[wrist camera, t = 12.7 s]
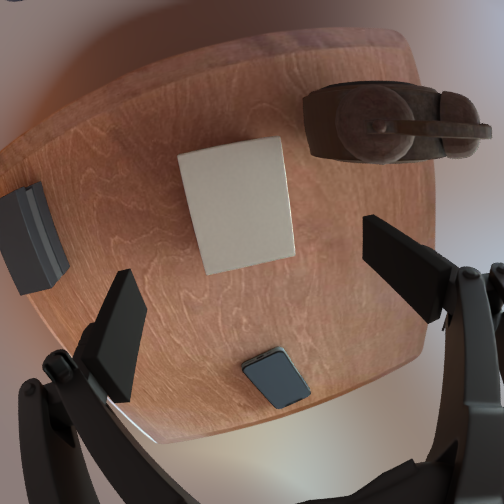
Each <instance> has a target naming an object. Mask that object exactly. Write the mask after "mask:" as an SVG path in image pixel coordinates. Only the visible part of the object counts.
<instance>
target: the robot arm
mask: <svg viewBox="0 0 504 504" xmlns="http://www.w3.org/2000/svg"><path fill="white" fill-rule="evenodd" d="M362 259H363V260H364V261H365V262H366V263H367V264H368V265H369V266H370V267H371V268H373V269H374V270H375V271H376V272H377V273H378V274H379V275H380V276H381V277H382V278H383V279H384V280H385V281H386V282H387V283H388V284H389V285H390V286H391V287H392V288H393V289H394V290H395V291H396V292H397V293H398V294H399V295H400V296H401V297H402V298H403V299H404V300H405V301H406V302H407V303H408V304H409V305H410V306H411V307H412V308H413V309H414V310H415V311H416V312H417V313H418V314H419V315H420V316H421V317H422V318H423V319H424V320H425V321H426V322H427V324H429V323H431V322H433V321H435V320H437V319H439V318H440V315H441V312H442V308H444V309H445V310H446V311H447V315H446V318H445V322H444V325H443V328H442V331H444V328H445V329H446V330H445V331H446V332H445V360H444V374H443V385H442V394H441V403H440V409H439V416H438V422H437V427H436V433H435V438H434V442H433V445H432V448H431V450H430V452H429V454H428V456H427V459H426V461H425V462H420V463H414V461H413V459H410V460H408V461H406V462H404V463H402V464H401V465H399V466H397V467H395V468H393V469H391V470H388V471H386V472H384V473H382V474H381V475H380V476H378V477H377V478H375V479H374V480H373V481H371V482H370V483H368V484H367V485H366V486H364V487H363V488H361V489H360V490H358V491H357V492H355V493H354V494H352V495H349V496H344V497H336V498H327V499H317V500H308V501H305V502H301V503H297V504H504V407H502V406H501V401H500V376H499V371H500V374H501V377H502V380H503V384H504V312H503V310H502V306H503V303H504V264H503V263H494V264H492V265H491V269H490V273H486V274H481V273H480V272H479V271H478V270H477V269H475V268H472V267H461V268H459V267H457V266H456V265H454V264H453V263H452V262H450V261H449V260H448V259H446V258H445V257H442V255H440V254H439V253H437V252H436V251H435V250H433V249H432V248H430V247H427V246H424V245H420V244H419V243H418V242H416V241H415V240H413V239H412V238H410V237H409V236H407V235H405V234H404V233H402V232H401V231H399V230H398V229H396V228H395V227H393V226H391V225H390V224H388V223H387V222H385V221H384V220H382V219H380V218H379V217H377V216H375V215H374V214H373V215H368V216H363V256H362ZM146 313H147V307H146V305H145V303H144V300H143V298H142V296H141V293H140V291H139V289H138V286H137V284H136V281H135V279H134V276H133V274H132V271H131V269H126V270H121V271H118V272H117V275H116V277H115V279H114V281H113V283H112V285H111V287H110V289H109V291H108V293H107V296H106V298H105V300H104V302H103V304H102V307H101V309H100V311H99V314H98V316H97V318H96V321H95V322H94V323H90V324H89V325H88V326H87V327H86V329H85V330H84V331H83V333H82V336H81V340H79V343H78V346H77V348H76V350H75V353H74V355H73V358H71V356H70V355H69V353H68V352H67V351H66V350H63V349H60V350H56V351H54V352H52V353H51V354H50V355H48V356H47V357H46V359H45V360H44V362H43V365H42V368H43V371H44V372H45V373H46V374H47V375H48V377H49V378H50V379H51V381H52V382H51V383H48V384H45V385H42V384H41V382H40V381H39V380H38V379H36V378H32V379H29V380H27V381H25V382H24V383H23V384H22V386H21V388H20V390H19V395H18V416H19V439H20V450H21V460H22V468H23V474H24V480H25V486H26V491H27V496H28V501H29V504H100V502H99V500H98V498H97V495H96V492H95V490H94V487H93V484H92V481H91V479H90V476H89V473H88V470H87V467H86V463H85V460H84V457H83V453H82V450H81V446H80V442H79V439H78V435H77V432H78V434H79V435H80V437H81V438H82V441H83V442H84V444H85V446H86V447H87V449H88V451H89V452H90V454H91V456H92V457H93V459H94V460H95V462H96V463H97V465H98V466H99V468H100V469H101V471H102V472H103V474H104V475H105V477H106V478H107V480H108V481H109V482H110V484H111V485H112V486H113V488H114V489H115V490H116V491H117V493H118V494H119V496H120V497H121V498H122V499H123V501H124V502H125V503H126V504H200V503H199V502H198V501H197V500H196V499H194V498H193V497H192V496H191V495H190V494H188V492H186V491H185V490H184V489H183V488H182V487H181V486H180V485H179V484H177V482H176V481H174V480H173V479H172V478H171V477H170V476H169V475H168V474H167V473H166V472H165V471H164V470H163V469H162V468H161V467H160V466H159V465H158V464H157V463H156V462H155V460H154V459H153V458H152V457H151V456H150V455H149V454H148V453H147V452H146V451H145V450H144V449H143V447H142V446H141V445H140V444H139V443H138V442H137V440H136V439H135V438H134V437H133V436H132V434H131V433H130V432H129V431H128V430H127V428H126V427H125V426H124V425H123V423H122V422H121V421H120V420H119V418H118V417H117V416H116V415H115V413H114V412H113V410H112V409H111V408H110V406H109V405H108V404H107V403H106V400H107V396H109V397H110V398H111V400H112V401H113V402H114V403H125V402H130V398H131V391H132V385H133V379H134V373H135V367H136V362H137V356H138V351H139V346H140V341H141V336H142V331H143V326H144V322H145V317H146ZM76 430H77V431H76Z"/></svg>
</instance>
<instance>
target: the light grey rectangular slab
mask: <svg viewBox="0 0 504 504" xmlns="http://www.w3.org/2000/svg"><path fill="white" fill-rule="evenodd" d="M177 159H178V163H179V168H180V172H181V177H182V181H183V186H184V190H185V194H186V198H187V203H188V207H189V211H190V215H191V219H192V223H193V227H194V231H195V235H196V239H197V243H198V247H199V250H200V254H201V258H202V262H203V265H204V269H205V273H206V275H211V274H215V273H220V272H224V271H229V270H234V269H238V268H243V267H247V266H252V265H256V264H260V263H265V262H269V261H274V260H278V259H283V258H287V257H291V256H295V246H294V237H293V228H292V220H291V211H290V203H289V196H288V188H287V180H286V173H285V166H284V159H283V152H282V145H281V139H280V136H271V137H264V138H258V139H252V140H246V141H240V142H235V143H229V144H224V145H219V146H214V147H209V148H205V149H200V150H196V151H191V152H187V153H183V154H179V155H178V156H177Z"/></svg>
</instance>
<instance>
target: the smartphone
mask: <svg viewBox="0 0 504 504" xmlns="http://www.w3.org/2000/svg"><path fill="white" fill-rule="evenodd" d="M241 367H242V371H243V373H244V374H245V375H246V376H247V377H248V378H249V379H250V381H251V382H252V383H253V384H254V385H255V386H256V387H257V389H258V390H259V391H260V392H261V393H262V394H263V395H264V396H265V397H266V399H267V400H268V401H269V402H270V403H271V404H272V405H273V406H274V407H275V408H276V409H282V408H284V407H287V406H289V405H291V404H293V403H296V402H298V401H300V400H302V399H304V398H306V397H308V396H309V395H310V394H311V391H310V388H309V387H308V385H307V384H306V382H305V381H304V379H303V378H302V376H301V375H300V374H299V372H298V371H297V369H296V368H295V366H294V365H293V363H292V361H291V360H290V358H289V357H288V355H287V354H286V352H285V351H284V349H283V348H281V347H277V348H274V349H272V350H270V351H268V352H266V353H264V354H261V355H259V356H257V357H255V358H253V359H251V360H248V361H246V362H244V363H243V364H242V366H241Z"/></svg>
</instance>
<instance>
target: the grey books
mask: <svg viewBox="0 0 504 504" xmlns="http://www.w3.org/2000/svg"><path fill="white" fill-rule="evenodd" d="M0 251H1V254H2V256H3V258H4V261H5V263H6V265H7V268H8V270H9V272H10V274H11V277H12V279H13V281H14V283H15V285H16V287H17V289H18V291H19V293H20V295H25V294H29V293H34V292H38V291H42V290H46V289H50V288H52V287H53V286H54V285H55V283H56V282H57V281H58V280H59V279H60V278H61V276H62V275H64V274H65V272H66V271H67V270H68V269H69V267H70V265H69V263H68V260H67V258H66V255H65V253H64V250H63V248H62V245H61V243H60V240H59V237H58V235H57V232H56V229H55V226H54V223H53V220H52V217H51V214H50V211H49V208H48V205H47V201H46V198H45V195H44V191H43V187H42V184H41V181H40V182H37V183H35V184H33V185H30V186H28V187H26V188H25V187H22V188H19V189H17V190H15V191H13V192H11V193H9V194H7V195H5V196H3V197H2V198H0Z"/></svg>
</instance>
